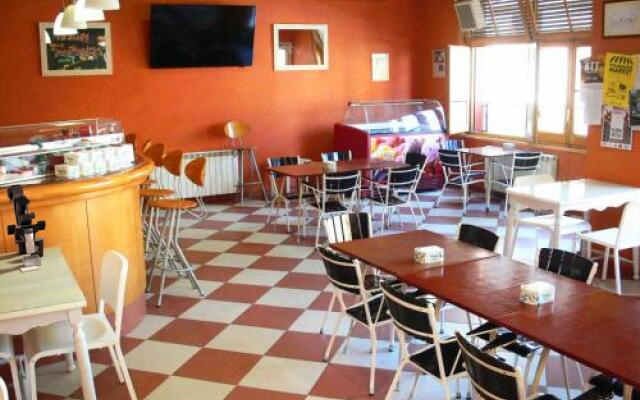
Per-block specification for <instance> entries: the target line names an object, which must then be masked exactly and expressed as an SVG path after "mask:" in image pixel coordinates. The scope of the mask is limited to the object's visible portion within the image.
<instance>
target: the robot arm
mask: <svg viewBox="0 0 640 400" xmlns="http://www.w3.org/2000/svg"><path fill="white" fill-rule="evenodd" d="M6 197H7V198H8V201H9V202H10V203H11V205H12V206H13V211H14V218H15V222H16V224H13V223H12V224H7V226H6V234H7V236H12V235H13V241H14V243H15V245H17V249H18V251H17V252H16V253H17V254H18V255H26V254H28V253H27V252H26V251H24V250H26V244H21V243H23V242H24V243H26V239H25V234H24V229H28V228H32V229H33V239H34V240H35V237H36V234H37V233H39V231H44V230H46V228H47V223H46V220H44V219H43V220H37V221H36V223H33V219H36V214H35V212H34V211H32V212H30V213H29V205H30V204H31V201H30V199H29V198H28V197H27V196H26V195H25V193H24V188H23V187H22V186H21V185H20V184H19V183H18V184H12V185H10V187H8V188H7V189H6ZM20 244H21V248H22V249H24V250H22V249H21V248H20Z"/></svg>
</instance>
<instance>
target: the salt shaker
mask: <svg viewBox="0 0 640 400" xmlns="http://www.w3.org/2000/svg"><path fill="white" fill-rule="evenodd" d="M24 234H25V239H26V251H27V254H29V253H34V252H35V247H34V239H33V229H32V228H28V229H24ZM29 255H30V254H29Z"/></svg>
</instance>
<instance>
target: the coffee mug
mask: <svg viewBox="0 0 640 400" xmlns="http://www.w3.org/2000/svg"><path fill="white" fill-rule="evenodd" d="M44 241H45V240H44V237H43V236H41V237H40V236H38V237H36V236H35V240H34V247H35V252H34V253H29V256H31V255H37V254H38V255H39V256H40V257H41V258H43V257H44ZM21 244H26V243H24V242H23V243H21ZM21 244H20V248H21ZM21 249H22V248H21ZM22 250H24V249H22ZM24 251H26V250H24ZM26 252H27V251H26Z"/></svg>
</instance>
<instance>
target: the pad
mask: <svg viewBox="0 0 640 400" xmlns="http://www.w3.org/2000/svg"><path fill="white" fill-rule="evenodd" d="M19 269H20V270H21V272H22V273H26V272H32V271H36V270H37V271H38V270H39V268H38V266H29V267H25V266H24V267H20V268H19Z"/></svg>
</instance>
